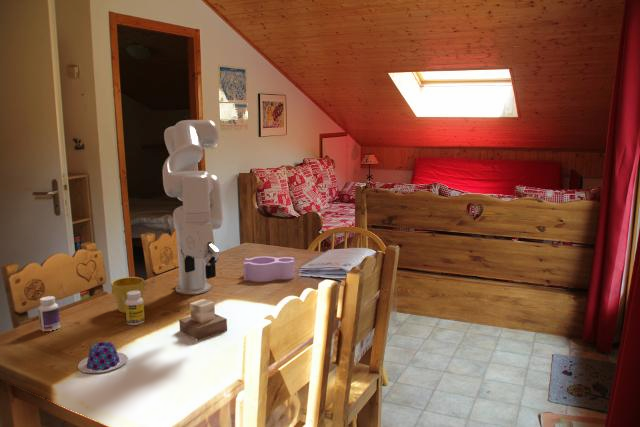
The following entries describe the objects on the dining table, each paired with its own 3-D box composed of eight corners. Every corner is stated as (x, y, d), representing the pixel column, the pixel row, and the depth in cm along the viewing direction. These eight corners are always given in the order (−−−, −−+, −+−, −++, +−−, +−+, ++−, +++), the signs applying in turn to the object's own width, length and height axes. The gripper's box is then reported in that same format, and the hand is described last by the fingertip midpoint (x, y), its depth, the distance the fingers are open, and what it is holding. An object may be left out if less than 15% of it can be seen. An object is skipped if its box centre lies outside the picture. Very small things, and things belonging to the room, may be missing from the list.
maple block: (191, 319, 158) (190, 303, 157) (204, 314, 162) (203, 298, 161) (201, 323, 155) (200, 306, 154) (215, 318, 158) (214, 302, 158)
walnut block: (179, 332, 158) (179, 319, 158) (208, 322, 165) (207, 310, 165) (198, 341, 151) (197, 328, 151) (227, 331, 158) (226, 318, 158)
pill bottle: (64, 326, 163) (61, 296, 161) (50, 333, 158) (47, 301, 156) (50, 324, 165) (47, 294, 163) (36, 330, 160) (33, 300, 158)
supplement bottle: (128, 326, 162) (125, 296, 160) (125, 321, 167) (123, 291, 165) (146, 323, 164) (144, 293, 163) (143, 317, 169) (141, 288, 167)
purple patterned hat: (89, 354, 144) (88, 336, 143) (134, 354, 144) (132, 335, 143) (69, 376, 132) (67, 356, 131) (118, 375, 132) (116, 355, 131)
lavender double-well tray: (294, 271, 218) (294, 255, 217) (295, 281, 206) (294, 263, 205) (245, 273, 217) (245, 257, 216) (243, 282, 205) (242, 265, 204)
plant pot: (151, 308, 177) (149, 280, 175) (122, 317, 170) (120, 288, 168) (136, 301, 184) (134, 274, 182) (107, 309, 177) (105, 281, 175)
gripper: (168, 215, 155) (171, 272, 158) (205, 223, 144) (208, 283, 147) (189, 212, 161) (192, 266, 164) (227, 218, 150) (229, 276, 153)
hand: (200, 274), depth 156 cm, fingers open, 9 cm apart
